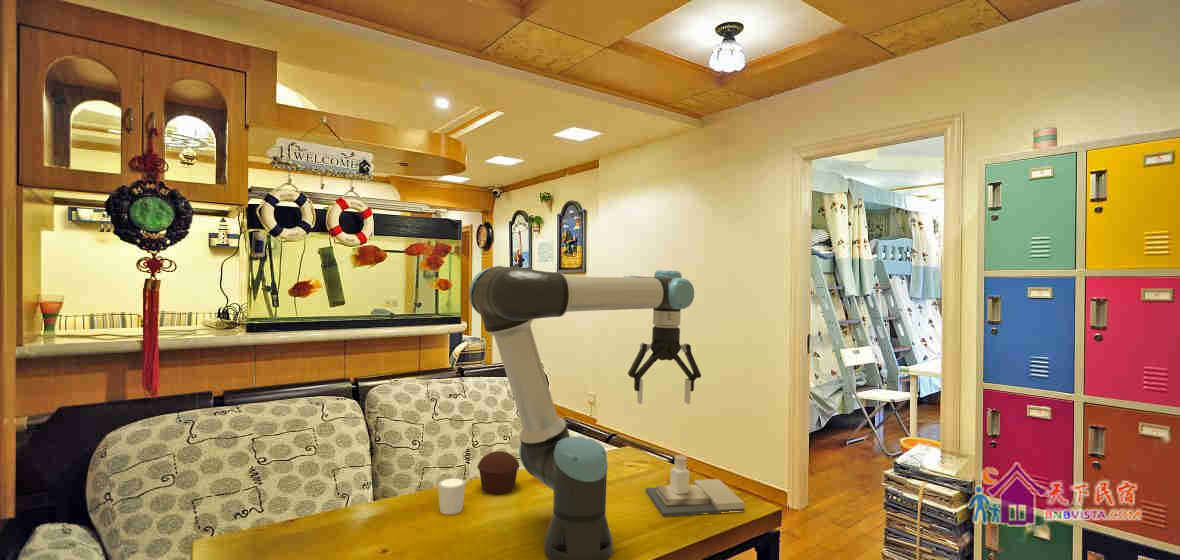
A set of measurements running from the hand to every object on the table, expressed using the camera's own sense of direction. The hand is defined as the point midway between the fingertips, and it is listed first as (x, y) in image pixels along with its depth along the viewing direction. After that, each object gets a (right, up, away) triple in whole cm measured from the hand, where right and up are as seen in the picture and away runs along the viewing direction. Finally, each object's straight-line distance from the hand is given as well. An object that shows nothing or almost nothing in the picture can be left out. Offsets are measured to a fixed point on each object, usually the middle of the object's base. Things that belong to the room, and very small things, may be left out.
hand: (663, 403), depth 149 cm
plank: (+5, -25, -3) cm, 26 cm away
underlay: (+8, -26, -2) cm, 27 cm away
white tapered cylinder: (-56, -25, -11) cm, 62 cm away
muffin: (-46, -25, +3) cm, 53 cm away
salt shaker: (+4, -24, -3) cm, 24 cm away
